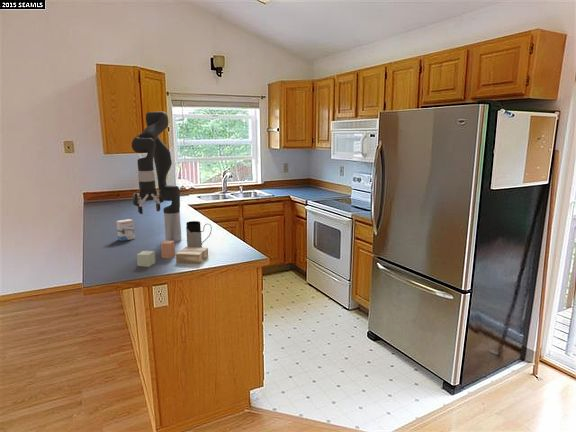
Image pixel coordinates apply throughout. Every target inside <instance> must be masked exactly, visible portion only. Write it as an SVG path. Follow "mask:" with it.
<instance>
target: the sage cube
mask: <svg viewBox="0 0 576 432" xmlns="http://www.w3.org/2000/svg"><path fill="white" fill-rule="evenodd" d="M136 260H137V261H136V262H137V267H146V268H147V267H148V268H150V267H151V266H152V265H154V264H156V252H155V251H154V250H142V251H140V252H139V253H137V254H136Z"/></svg>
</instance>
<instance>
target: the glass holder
mask: <svg viewBox="0 0 576 432" xmlns="http://www.w3.org/2000/svg"><path fill="white" fill-rule="evenodd" d="M185 225H186V228H185V229H186V247H198V248H203V244H204V242H205V241H207V240H208V238H209V237H210V236H211V234H212V225H211V224H210V223H204V225H203V228H202V227H201V221H197V220H191V221H187V222H186V223H185ZM207 225H209V226H210V233H209V235H207V237H206V238H205V239H204V240H203V241H202V233H203V232H204V231H205V226H207ZM201 229H203V230H201Z"/></svg>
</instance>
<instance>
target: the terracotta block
mask: <svg viewBox="0 0 576 432" xmlns="http://www.w3.org/2000/svg"><path fill="white" fill-rule="evenodd" d="M160 247H161V248H160V249H161V251H160V252H161V259H173V258H174V257H176V244H175V241H167V240H165V239H164V241H162V242H161V243H160Z"/></svg>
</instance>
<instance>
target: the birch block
mask: <svg viewBox="0 0 576 432" xmlns="http://www.w3.org/2000/svg"><path fill="white" fill-rule="evenodd" d="M208 257H209V248H208V247H202V248H198V247H187V246H185V247H184V248H182V249H181V250H179V251H178V252H175V259H176V260H175V263H176V264H177V263H178V264H192V265H193V264H194V265H200V264H201V263H202V262H203V261H205V260H206V259H208Z"/></svg>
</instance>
